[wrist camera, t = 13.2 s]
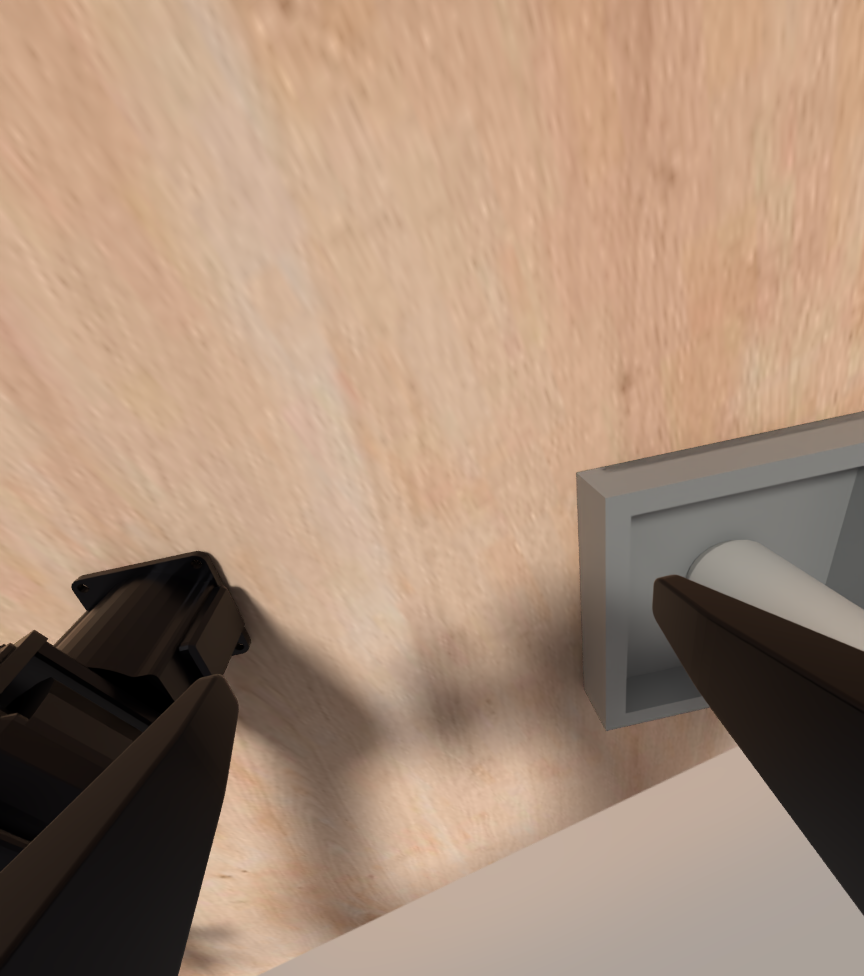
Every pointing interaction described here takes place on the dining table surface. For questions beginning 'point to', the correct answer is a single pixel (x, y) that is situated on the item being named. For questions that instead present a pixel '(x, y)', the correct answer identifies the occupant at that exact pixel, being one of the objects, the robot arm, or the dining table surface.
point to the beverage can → (778, 589)
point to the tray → (706, 545)
